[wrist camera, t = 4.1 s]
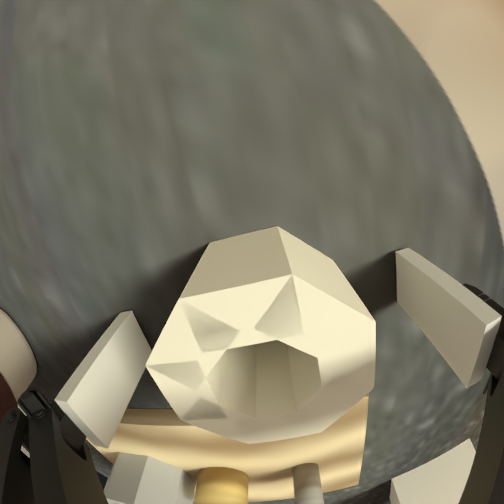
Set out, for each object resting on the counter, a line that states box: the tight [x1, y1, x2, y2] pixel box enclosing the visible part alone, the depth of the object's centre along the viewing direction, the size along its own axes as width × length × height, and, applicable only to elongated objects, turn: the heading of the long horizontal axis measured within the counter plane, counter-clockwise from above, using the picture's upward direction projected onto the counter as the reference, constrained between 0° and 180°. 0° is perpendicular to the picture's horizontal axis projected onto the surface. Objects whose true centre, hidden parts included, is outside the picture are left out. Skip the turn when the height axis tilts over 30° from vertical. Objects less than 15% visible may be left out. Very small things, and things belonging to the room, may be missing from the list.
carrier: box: [86, 394, 368, 504], centre depth 14 cm, size 16×22×7 cm
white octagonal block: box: [145, 226, 376, 444], centre depth 10 cm, size 7×7×5 cm
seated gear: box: [104, 452, 196, 504], centre depth 14 cm, size 7×7×5 cm
